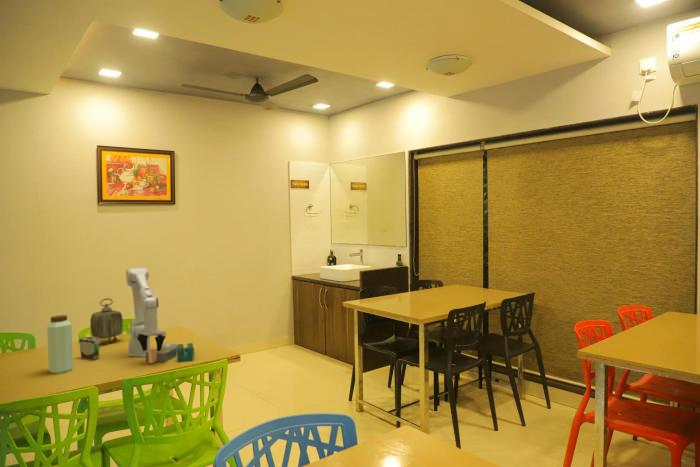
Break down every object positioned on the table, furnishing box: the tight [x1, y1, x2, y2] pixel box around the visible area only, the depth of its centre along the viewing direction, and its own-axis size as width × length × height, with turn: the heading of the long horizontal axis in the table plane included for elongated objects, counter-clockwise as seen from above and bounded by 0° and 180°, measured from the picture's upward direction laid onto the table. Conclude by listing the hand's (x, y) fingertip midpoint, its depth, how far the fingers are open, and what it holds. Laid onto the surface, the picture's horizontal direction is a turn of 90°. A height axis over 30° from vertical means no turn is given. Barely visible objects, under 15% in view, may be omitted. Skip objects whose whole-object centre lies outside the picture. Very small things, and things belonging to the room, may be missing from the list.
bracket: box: [176, 342, 195, 363], centre depth 235 cm, size 18×7×8 cm, turn 15°
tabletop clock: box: [89, 297, 124, 344], centre depth 264 cm, size 14×9×25 cm, turn 144°
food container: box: [78, 336, 102, 361], centre depth 236 cm, size 12×6×10 cm, turn 65°
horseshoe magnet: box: [145, 342, 178, 363], centre depth 233 cm, size 13×10×6 cm
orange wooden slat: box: [148, 345, 164, 364], centre depth 228 cm, size 10×2×6 cm, turn 169°
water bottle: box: [46, 314, 74, 375], centre depth 216 cm, size 10×10×25 cm
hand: (152, 350), depth 225 cm, fingers open, 7 cm apart
